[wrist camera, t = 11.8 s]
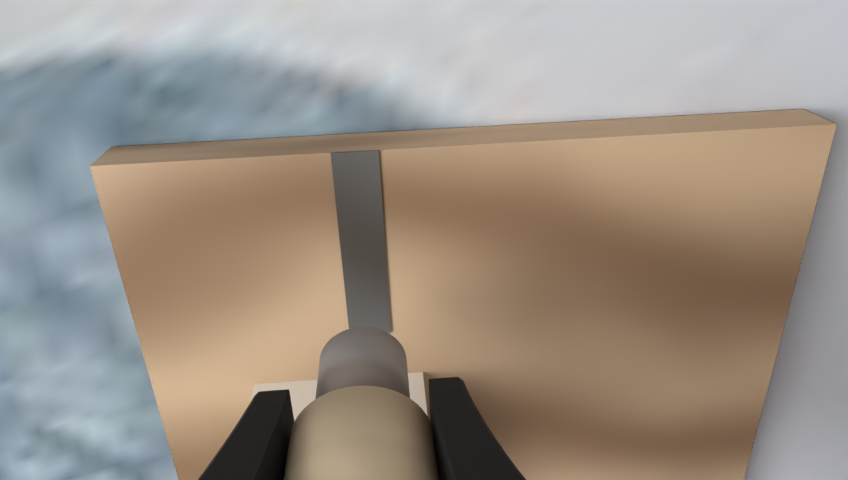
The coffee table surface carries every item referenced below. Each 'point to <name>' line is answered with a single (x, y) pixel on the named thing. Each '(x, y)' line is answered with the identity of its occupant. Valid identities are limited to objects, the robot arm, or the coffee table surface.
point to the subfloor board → (483, 276)
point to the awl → (362, 416)
